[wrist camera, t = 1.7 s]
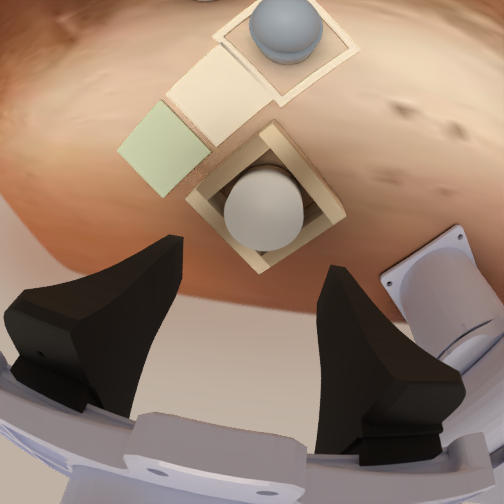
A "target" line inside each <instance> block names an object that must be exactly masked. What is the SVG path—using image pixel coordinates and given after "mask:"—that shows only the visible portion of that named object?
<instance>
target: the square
mask: <svg viewBox="0 0 504 504" xmlns="http://www.w3.org/2000/svg"><path fill="white" fill-rule="evenodd" d="M221 44H222V45H223V43H220V44H218V45H217V46H216V47H215V48H214V49H212V50H211V51H210V52H209V53H208V54H207V55H206V56H205V57H204V58H202V59H201V60H200V61H199V62H198V63H197V64H196V65H195V66H194V67H193V68H192V69H191V70H190V71H189V72H188V73H186V74H185V75H184V76H183V77H182V78H181V79H180V80H179V81H178V82H177V83H176V84H175V85H174V86H173V87H172V88H171V89H170V90H169V92H168V93H167V94H166V96H167V97H168V98H169V99H170V100H171V101H172V102H173V103H174V104H175V105H176V106H177V107H178V108H179V109H180V110H181V111H182V112H183V113H184V114H185V115H186V116H187V117H188V118H189V119H190V120H191V121H192V122H193V123H194V124H195V125H196V126H197V127H198V128H199V129H200V130H201V132H202V133H203V134H204V135H205V136H206V137H207V138H208V139H209V140H210V141H211V142H212V143H213V144H214V145H215V146H216V147H217V146H219V145H220V144H221V143H222V142H223V141H224V140H225V139H226V138H228V137H229V136H230V135H231V134H232V133H233V132H235V131H236V130H237V129H238V128H239V127H240V126H242V125H243V124H244V123H245V122H246V121H247V120H249V119H250V118H251V117H252V116H253V115H255V114H256V113H257V112H258V111H260V110H261V109H262V108H263V107H264V106H266V105H267V104H268V103H269V102H271V101H272V100H273V99H274V98H276V97H275V96H274V95H273V94H272V92H271V91H270V90H269V89H268V88H267V87H266V86H265V85H264V84H263V83H262V82H261V81H260V80H259V78H258V77H257V76H256V75H255V74H254V73H253V72H252V71H251V70H250V69H249V68H247V66H246V65H244V63H243V62H241V60H240V59H239V58H238V59H236V58H237V56H235V54H234V53H233V52H232V51H231V50H230V49H229V50H230V51H231V52H232V53H233V54H232V55H231V54H230V53H231V52H230V53H229V50H228V52H227V49H226V50H225V47H227V46H226V45H224V46H225V47H222V46H221ZM233 55H234V56H233ZM234 57H235V58H234ZM241 64H242V65H241ZM246 68H247V69H246ZM256 79H257V80H256Z"/></svg>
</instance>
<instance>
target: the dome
mask: <svg viewBox="0 0 504 504" xmlns="http://www.w3.org/2000/svg"><path fill="white" fill-rule="evenodd" d="M303 218H304V214H303V204H302V195H301V190H300V187H299V185H298V183H297V181H296V180H295V178H294V177H293V176H292V175H291V174H290V173H288V172H287V171H285V170H284V169H282V168H280V167H276V166H272V165H260V166H255V167H253V168H250V169H248V170H247V171H245V172H244V173H243V174H242V175H241V176H240V177H239V178H238V179H237V181H236V183H235V185H234V187H233V189H232V191H231V193H230V195H229V196H228V198H227V201H226V203H225V207H224V220H225V224H226V227H227V229H228V231H229V232H230V234H231V235H232V236H233V237H234V239H235V240H237V241H238V242H239V243H240V244H242V245H244V246H245V247H248V248H250V249H253V250H258V251H273V250H277V249H280V248H282V247H285V246H286V245H288V244H289V243H291V242H292V241H293V240H294V239H295V238H296V237H297V235H298V234H299V232H300V230H301V228H302V224H303Z"/></svg>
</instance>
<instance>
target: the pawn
mask: <svg viewBox="0 0 504 504" xmlns="http://www.w3.org/2000/svg"><path fill="white" fill-rule="evenodd" d="M249 29H250V33H251V36H252V38H253V40H254V42H255V43H256V44H257V46H258V47H259V48H260V50H261V51H262V52H263V54H264V55H265V56H266V57H267V58H268V59H270V60H271V61H273V62H276V63H279V64H283V65H292V64H296V63H299V62H302V61H303V60H305V59H306V58H307V57H308V56H309V55H310V54H311V52H312V51H313V50H314V48H315V47H316V45H317V44H318V42H319V41H320V39H321V36H322V32H323V24H322V20H321V17H320V15H319V13H318V12H317V10H316V9H315V8H314V6H313V5H312V4H311V3H310V2H308V1H307V0H262V1H261V2H260V3H259V4H258V5H257V7H256V8H255V9H254V11H253V13H252V15H251V17H250V22H249Z"/></svg>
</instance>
